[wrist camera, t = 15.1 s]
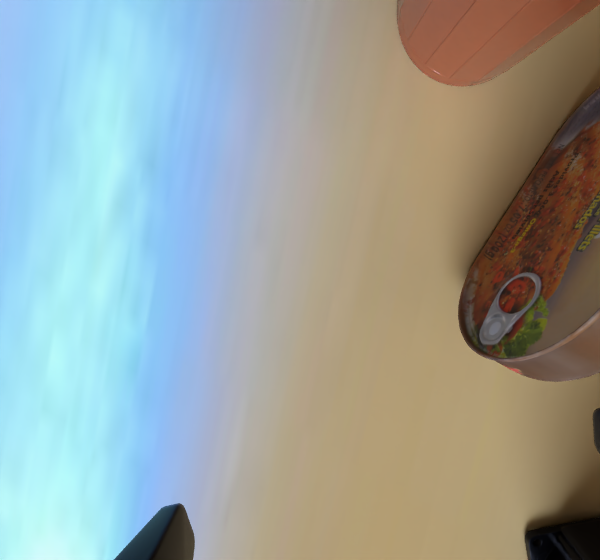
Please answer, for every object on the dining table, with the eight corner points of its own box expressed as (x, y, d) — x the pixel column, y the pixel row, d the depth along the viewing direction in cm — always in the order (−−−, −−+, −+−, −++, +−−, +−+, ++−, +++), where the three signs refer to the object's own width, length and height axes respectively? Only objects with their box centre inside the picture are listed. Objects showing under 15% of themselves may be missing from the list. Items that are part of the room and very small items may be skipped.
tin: (599, 65, 18) (841, -58, 10) (650, 99, 19) (927, 5, 10) (433, 321, 21) (521, 390, 12) (480, 347, 21) (598, 433, 13)
